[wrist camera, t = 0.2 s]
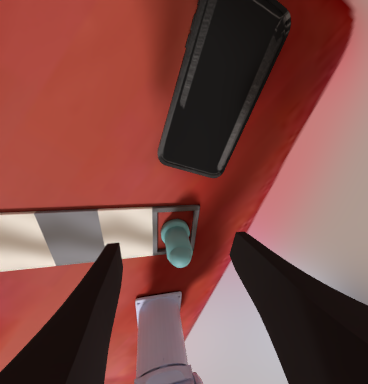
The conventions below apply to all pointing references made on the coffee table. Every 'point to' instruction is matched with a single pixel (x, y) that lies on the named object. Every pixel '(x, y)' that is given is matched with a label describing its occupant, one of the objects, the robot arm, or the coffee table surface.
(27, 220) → the board
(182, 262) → the pawn
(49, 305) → the coffee table surface
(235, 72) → the phone
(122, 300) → the coffee table surface
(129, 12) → the coffee table surface
